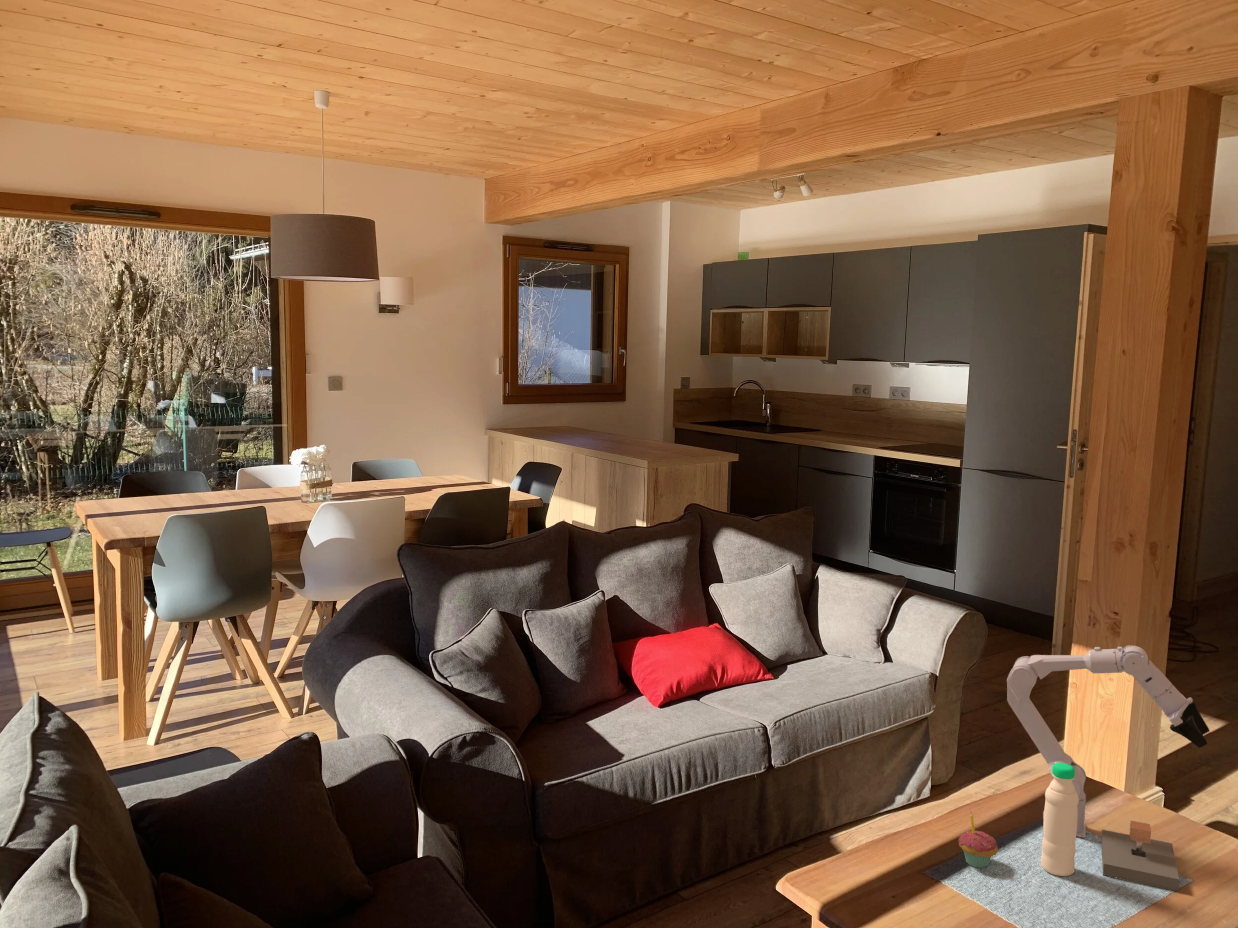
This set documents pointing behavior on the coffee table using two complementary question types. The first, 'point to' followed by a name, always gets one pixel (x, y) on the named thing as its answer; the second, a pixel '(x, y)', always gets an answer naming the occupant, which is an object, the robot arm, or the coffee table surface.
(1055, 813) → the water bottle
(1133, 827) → the orange rectangular block
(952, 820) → the coffee table surface
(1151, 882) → the base
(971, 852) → the cupcake
